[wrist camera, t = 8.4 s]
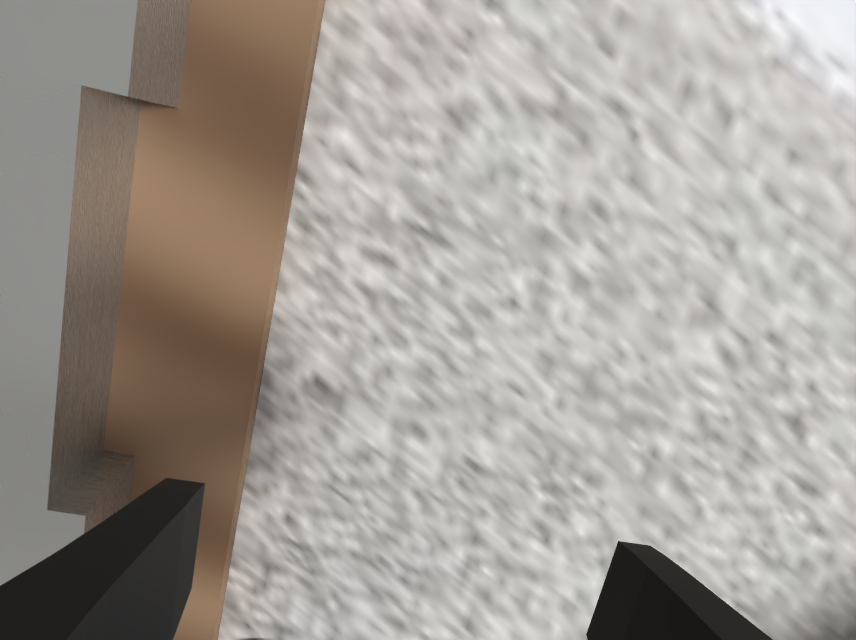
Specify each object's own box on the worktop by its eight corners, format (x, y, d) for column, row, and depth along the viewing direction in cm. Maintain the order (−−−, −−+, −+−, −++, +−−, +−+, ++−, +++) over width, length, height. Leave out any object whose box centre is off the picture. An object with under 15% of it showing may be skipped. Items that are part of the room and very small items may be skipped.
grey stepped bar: (122, 556, 18) (73, 632, 15) (-50, 532, 17) (-136, 606, 14) (196, -48, 14) (147, -102, 11) (-30, -113, 13) (-146, -188, 10)
